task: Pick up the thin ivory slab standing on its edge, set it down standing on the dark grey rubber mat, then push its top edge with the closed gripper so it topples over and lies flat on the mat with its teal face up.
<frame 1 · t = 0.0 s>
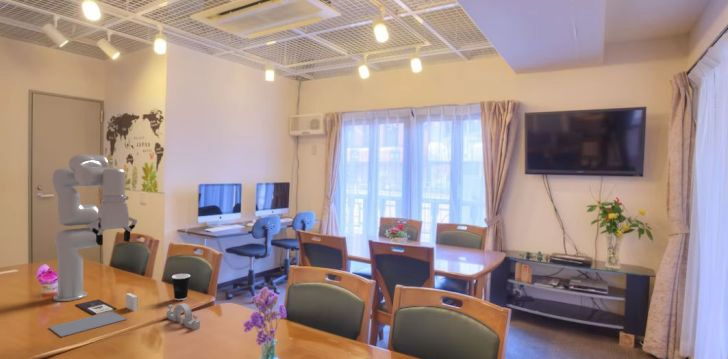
hand: (113, 243, 161), 31 cm above the table, tool pointing down, fingers open, 9 cm apart
dixie cup: (180, 299, 189), on the table
chocolate bar: (95, 308, 176), on the table
mat: (88, 323, 158), on the table
grey arched bracket: (181, 325, 161), on the table
slab: (131, 308, 176), on the table
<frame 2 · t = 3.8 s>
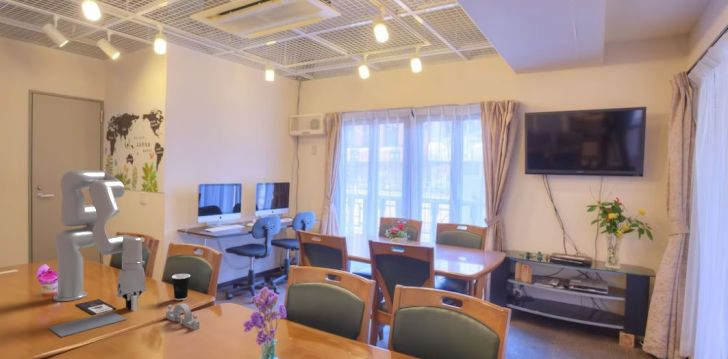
hand: (131, 307, 176), 0 cm above the table, tool pointing down, fingers closed on slab, 1 cm apart
slab: (131, 308, 176), on the table, touching gripper
everything else where it was.
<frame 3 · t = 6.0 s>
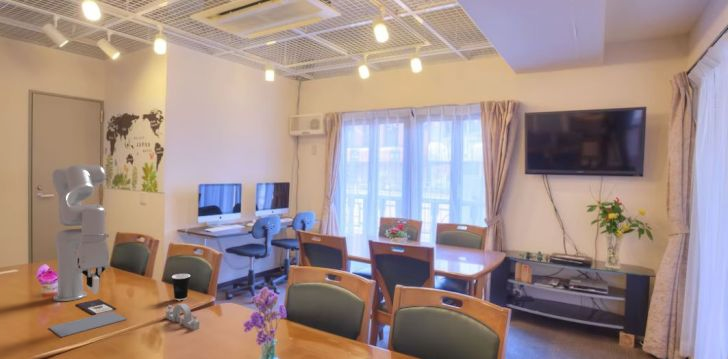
hand: (93, 285, 158), 15 cm above the table, tool pointing down, fingers closed on slab, 1 cm apart
slab: (92, 289, 158), point 13 cm above the table, tilted 11°, touching gripper
everything else where it was.
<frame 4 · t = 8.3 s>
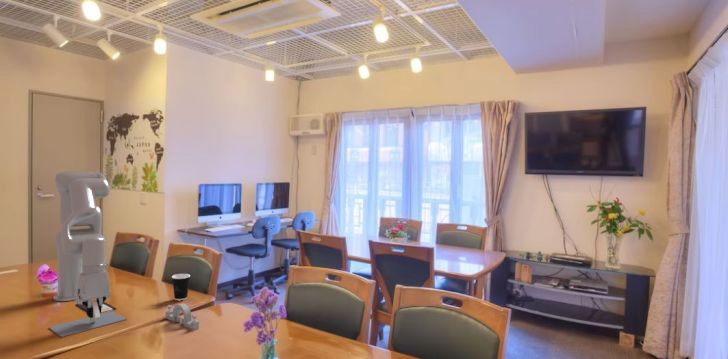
hand: (94, 315, 158), 3 cm above the table, tool pointing down, fingers closed on slab, 1 cm apart
slab: (90, 314, 159), point 3 cm above the table, tilted 54°, touching gripper, mat
everything else where it was.
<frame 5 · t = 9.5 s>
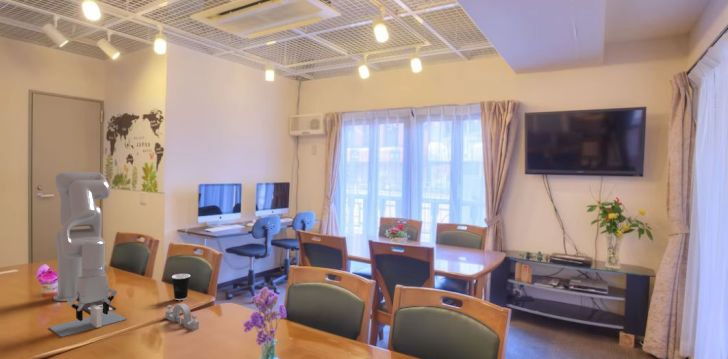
hand: (92, 316, 158), 3 cm above the table, tool pointing down, fingers open, 8 cm apart
slab: (92, 314, 158), point 4 cm above the table, tilted 90°, touching mat
everything else where it was.
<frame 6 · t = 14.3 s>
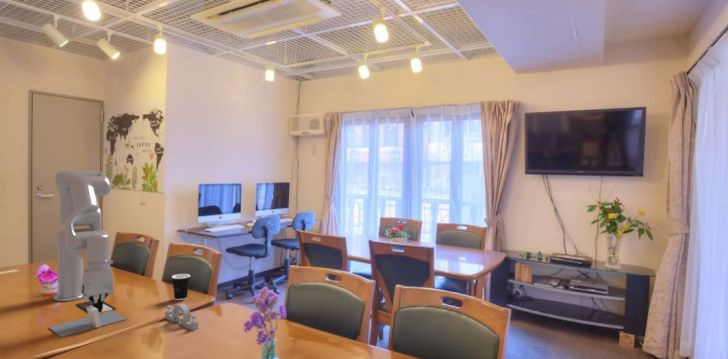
hand: (97, 311, 160), 4 cm above the table, tool pointing down, fingers closed
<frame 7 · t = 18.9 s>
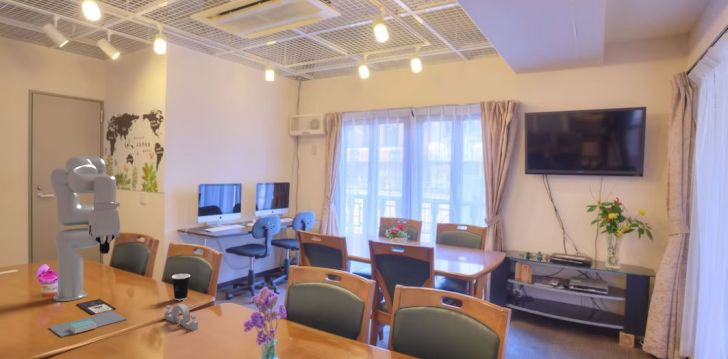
hand: (104, 253, 161), 27 cm above the table, tool pointing down, fingers closed
slab: (79, 324, 155), point 1 cm above the table, tilted 90°, touching mat
everything else where it was.
at the end: slab tilted 90°; slab inside the target area on the mat (3.8 cm from its centre), point 1.2 cm above the mat's base; the gripper is holding nothing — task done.
